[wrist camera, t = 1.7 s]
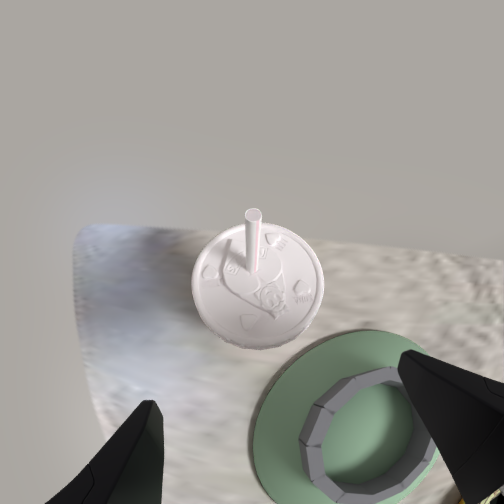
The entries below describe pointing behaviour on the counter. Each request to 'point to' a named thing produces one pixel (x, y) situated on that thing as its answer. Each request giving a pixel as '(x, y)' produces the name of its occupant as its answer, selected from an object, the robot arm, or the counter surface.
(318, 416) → the putting green cup
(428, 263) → the counter surface
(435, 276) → the counter surface
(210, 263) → the smoothie
